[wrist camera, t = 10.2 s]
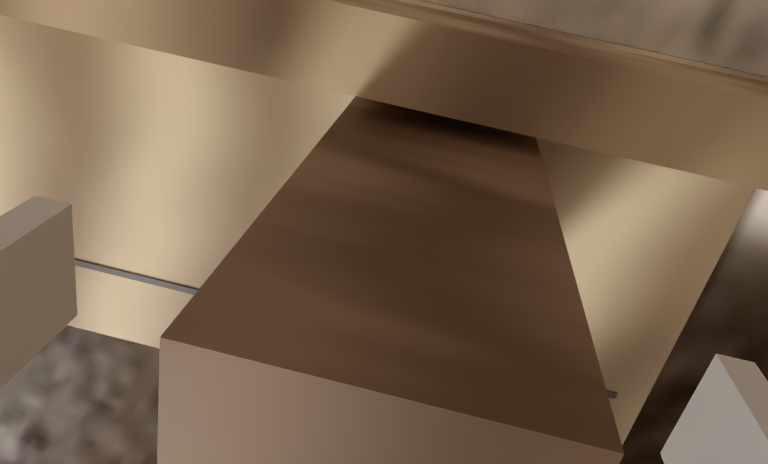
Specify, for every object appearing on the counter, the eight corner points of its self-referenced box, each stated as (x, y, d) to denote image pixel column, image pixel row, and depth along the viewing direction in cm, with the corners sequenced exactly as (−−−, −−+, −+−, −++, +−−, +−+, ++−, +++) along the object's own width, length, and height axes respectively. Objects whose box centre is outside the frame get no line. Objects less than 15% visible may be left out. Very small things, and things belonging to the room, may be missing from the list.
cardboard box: (301, 437, 23) (148, 857, 13) (361, 88, 17) (159, 338, 6) (425, 469, 23) (376, 924, 12) (533, 127, 17) (624, 453, 6)
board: (-119, 256, 24) (-227, 314, 21) (-209, -138, 18) (-389, -159, 14) (607, 438, 23) (631, 534, 19) (785, 81, 17) (873, 121, 13)
